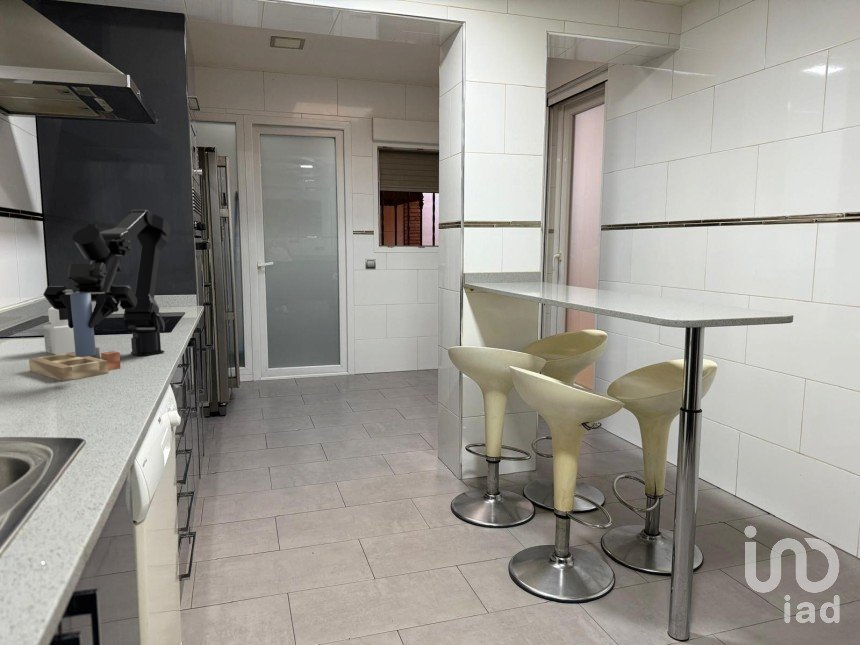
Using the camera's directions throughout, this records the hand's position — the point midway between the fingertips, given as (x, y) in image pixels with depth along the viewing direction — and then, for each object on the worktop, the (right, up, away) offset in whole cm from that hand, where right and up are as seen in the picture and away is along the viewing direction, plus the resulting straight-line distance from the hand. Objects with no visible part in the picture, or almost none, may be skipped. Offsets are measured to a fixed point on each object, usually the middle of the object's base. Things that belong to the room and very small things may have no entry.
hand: (79, 327), depth 135 cm
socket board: (-8, -11, +14) cm, 19 cm away
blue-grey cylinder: (0, -6, +2) cm, 7 cm away
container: (-26, -7, +38) cm, 46 cm away
